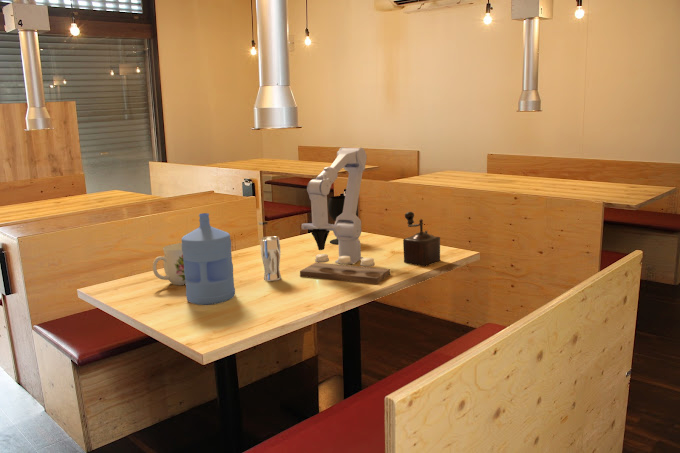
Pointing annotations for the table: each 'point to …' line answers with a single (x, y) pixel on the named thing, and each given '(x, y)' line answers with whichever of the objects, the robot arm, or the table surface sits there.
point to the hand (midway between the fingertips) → (321, 249)
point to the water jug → (208, 264)
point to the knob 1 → (321, 258)
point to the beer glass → (271, 257)
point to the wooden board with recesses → (345, 273)
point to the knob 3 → (367, 262)
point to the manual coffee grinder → (420, 245)
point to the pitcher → (172, 264)
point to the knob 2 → (344, 260)
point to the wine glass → (335, 210)
